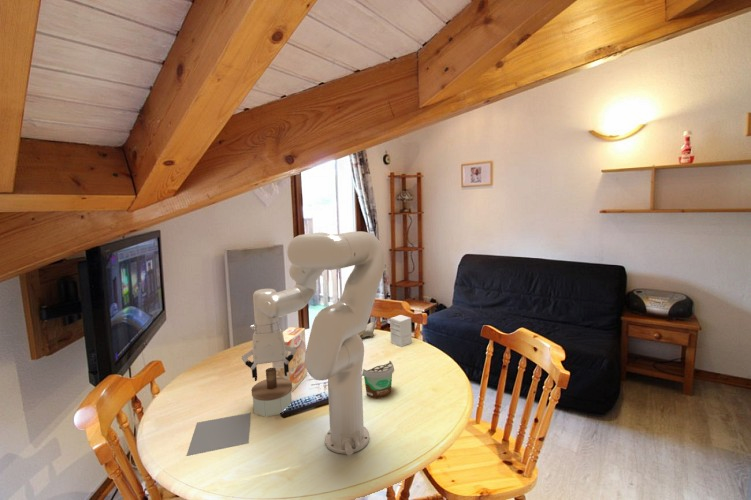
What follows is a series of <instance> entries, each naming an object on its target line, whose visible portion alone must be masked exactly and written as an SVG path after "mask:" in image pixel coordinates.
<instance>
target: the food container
mask: <svg viewBox="0 0 751 500" xmlns="http://www.w3.org/2000/svg"><path fill="white" fill-rule="evenodd" d="M394 372H395V368H394V364H393V362H392V361H391V360H389V362H387V363H385V364H381V365H377V366H373V367H372V368H370V369H367V370H366V369H364V368H362V377H363V378H364V385H365V392H366V393H365V394H366V396H367V397H369V398H371V399H372V398H373V399H383V398H387V397H389V396H390V395H391V393H392V382H393V380H392V379H393V374H394Z"/></svg>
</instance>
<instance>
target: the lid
mask: <svg viewBox="0 0 751 500" xmlns="http://www.w3.org/2000/svg"><path fill="white" fill-rule="evenodd" d="M265 376H266V377H265V378H266V379H263V380H261V381H258V382H257V383H256V384H254V385H253V386H252V388H251V391H250V392H251V397H252V399H253V398H255V399H257V400H261V401H269V400H275V399H279V398H281V397H284V396H286V395H287V394H288V393H290V391H291V390H292V382H291V381H290V380H288V379H286V378H276V368H273V367H268V368H267V369H266V370H265Z"/></svg>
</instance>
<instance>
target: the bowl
mask: <svg viewBox="0 0 751 500" xmlns="http://www.w3.org/2000/svg"><path fill="white" fill-rule="evenodd" d="M252 402H253V404H252V405H253V413H254V414H255V415H259V416H262V417H265V418H266V417H272V416H277V415H281V414H280V413H281V412H282V410H284V409H285V408H286V407H288V406H289V405H290V404H291V403H292V392H291V391H290V393H288V394H287V395H286V396H284V397H281V398H279V399H275V400H269V401H261V400H257V399H255V398H253V397H252ZM292 404H293V403H292Z"/></svg>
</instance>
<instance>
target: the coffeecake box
mask: <svg viewBox="0 0 751 500" xmlns="http://www.w3.org/2000/svg"><path fill="white" fill-rule="evenodd" d="M305 330H306V329H305V327H293V326H292V327H291V326H289V327H287V328H286V329H285V330H283V331H282V332H283V336H284V343H285V345H287V346H290V347H293V348H295V349H296V353H295V355H294V357H293V359H292V360H291V361H290V362H289V364H288V367H289V372H287V376H285V373H284V362H283V361H278V362H271V364H272V367H271V368H276V378H286V379H288V380H290V381H291V382H292V390H291V393H293V392H294V390H296V388H297V387H298V386H299V385H300V384H301V383H302V381H303V380H304V379H305V378H307V376H308V371H307V368H306V364H305V354H306V349H307V344H306V331H305ZM290 353H291V352H290V351H287V350H285V356H286V357H288V356H289V355H290Z"/></svg>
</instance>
